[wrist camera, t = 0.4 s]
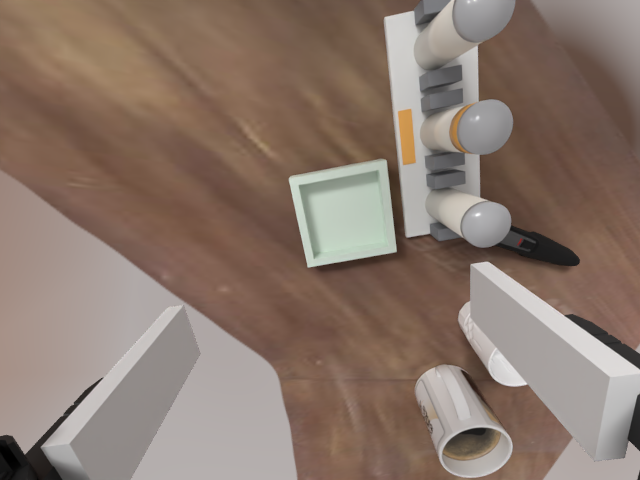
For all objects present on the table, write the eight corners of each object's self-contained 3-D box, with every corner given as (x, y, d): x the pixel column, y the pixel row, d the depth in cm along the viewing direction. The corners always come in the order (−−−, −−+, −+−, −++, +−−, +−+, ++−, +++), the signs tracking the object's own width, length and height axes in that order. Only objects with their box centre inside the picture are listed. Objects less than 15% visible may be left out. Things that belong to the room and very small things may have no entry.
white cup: (510, 326, 46) (559, 374, 37) (461, 344, 47) (497, 394, 38) (498, 285, 44) (547, 324, 35) (447, 304, 45) (481, 347, 36)
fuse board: (383, 18, 33) (391, 4, 30) (473, -1, 33) (492, -19, 29) (405, 236, 42) (413, 245, 38) (477, 223, 41) (492, 231, 37)
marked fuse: (417, 115, 36) (459, 105, 25) (455, 108, 36) (513, 94, 25) (420, 153, 37) (461, 159, 27) (456, 147, 37) (512, 149, 26)
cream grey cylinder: (411, 29, 33) (455, -23, 22) (452, 21, 33) (515, -36, 22) (414, 74, 34) (457, 45, 24) (453, 66, 34) (514, 33, 24)
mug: (401, 401, 51) (422, 468, 41) (431, 345, 47) (463, 403, 37) (456, 415, 52) (490, 485, 42) (489, 362, 49) (536, 423, 38)
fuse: (423, 189, 39) (463, 207, 28) (458, 182, 38) (511, 198, 28) (426, 221, 40) (464, 251, 29) (459, 216, 40) (510, 243, 29)
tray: (290, 176, 39) (288, 178, 36) (381, 158, 38) (386, 160, 36) (308, 259, 43) (307, 267, 40) (391, 245, 42) (396, 252, 39)
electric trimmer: (552, 267, 43) (571, 276, 40) (463, 234, 41) (476, 242, 38) (568, 244, 42) (588, 252, 39) (476, 209, 39) (491, 215, 37)
